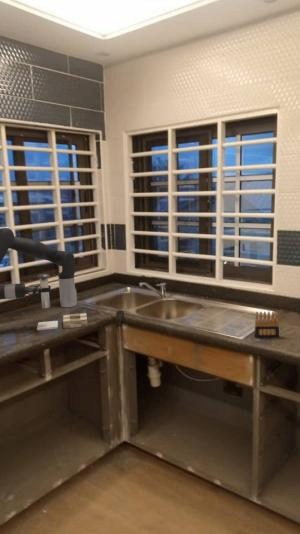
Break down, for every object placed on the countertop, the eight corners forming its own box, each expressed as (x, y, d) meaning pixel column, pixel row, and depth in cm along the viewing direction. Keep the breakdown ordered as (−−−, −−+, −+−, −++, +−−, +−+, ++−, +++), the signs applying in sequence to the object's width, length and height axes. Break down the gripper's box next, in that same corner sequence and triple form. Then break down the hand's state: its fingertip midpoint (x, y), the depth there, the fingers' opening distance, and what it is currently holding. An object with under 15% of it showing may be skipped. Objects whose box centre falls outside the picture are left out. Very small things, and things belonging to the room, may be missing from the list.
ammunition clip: (254, 337, 185) (255, 312, 183) (254, 336, 186) (254, 310, 184) (279, 337, 184) (279, 311, 182) (278, 336, 186) (278, 310, 183)
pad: (38, 324, 216) (38, 322, 215) (58, 322, 217) (57, 320, 217) (37, 330, 206) (36, 328, 206) (57, 328, 208) (57, 326, 208)
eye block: (63, 321, 219) (63, 315, 218) (86, 319, 221) (86, 313, 220) (63, 328, 207) (63, 321, 207) (87, 326, 210) (87, 319, 209)
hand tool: (116, 317, 224) (116, 309, 223) (124, 317, 224) (123, 308, 223) (111, 328, 205) (110, 319, 204) (119, 328, 205) (118, 319, 204)
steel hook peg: (46, 305, 214) (43, 273, 211) (54, 306, 211) (52, 274, 207) (37, 307, 209) (34, 275, 206) (45, 309, 206) (43, 276, 203)
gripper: (12, 287, 198) (49, 284, 201) (16, 281, 212) (50, 278, 215) (14, 302, 199) (50, 299, 202) (17, 295, 213) (51, 292, 216)
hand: (50, 288), depth 209 cm, fingers closed on steel hook peg, 4 cm apart
